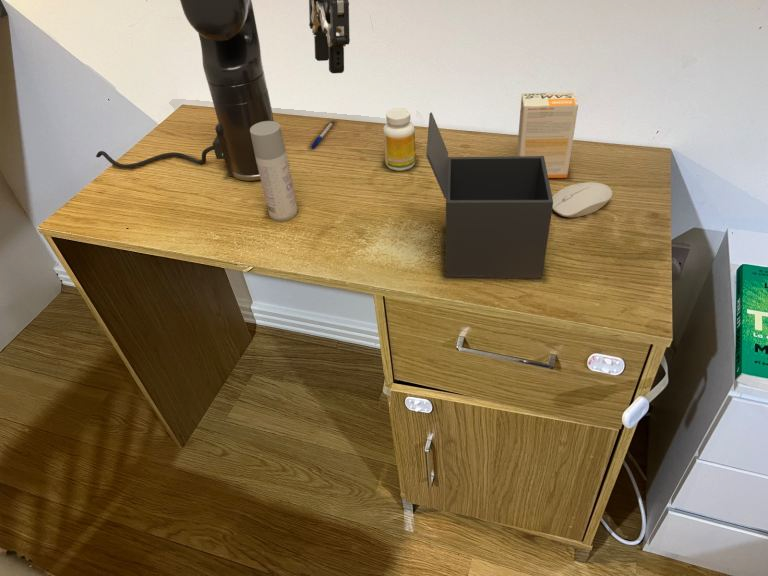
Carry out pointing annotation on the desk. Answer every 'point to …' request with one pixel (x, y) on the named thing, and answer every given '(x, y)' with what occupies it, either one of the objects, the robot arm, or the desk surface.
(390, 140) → the supplement bottle
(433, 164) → the flap
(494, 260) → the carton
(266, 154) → the container
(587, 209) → the computer mouse
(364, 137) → the desk surface
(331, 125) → the ballpoint pen
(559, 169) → the supplement box
